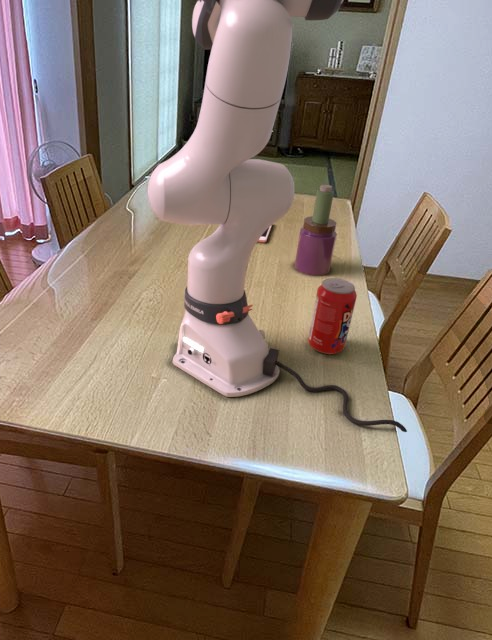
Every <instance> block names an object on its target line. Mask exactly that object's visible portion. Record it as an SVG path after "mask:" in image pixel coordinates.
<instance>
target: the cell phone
mask: <svg viewBox="0 0 492 640" xmlns="http://www.w3.org/2000/svg"><path fill="white" fill-rule="evenodd" d="M272 226H273V224H272V225H271V226H270V227H269V228H268V229H267V230H266V231H265V232H264V233H263V235H262V236H261V237H260V239H259V240H258V241H257V243H266V242H267V240H268V237H269V235H270V232H271V229H272Z"/></svg>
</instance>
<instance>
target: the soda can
mask: <svg viewBox="0 0 492 640" xmlns="http://www.w3.org/2000/svg"><path fill="white" fill-rule="evenodd" d="M357 296H358V295H357V292H356V286H355V284H354V283H352V282H351V281H349V280H346V279H344V278H338V277H329V278H326V279H323V280H322V283H321V285H319V286H318V287H317V290H316V295H315V301H314V305H313V311H312V317H311V322H310V327H309V333H308V338H307V343H308V344H309V347H311V348H312V349H313V350H315V351H317V352H319V353H322V354H326V355H334V354H339V353H341V352H342V351H344V350H345V347H346V344H347V340H348V335H349V330H350V326H351V323H352V318H353V314H354V310H355V306H356V301H357V298H358V297H357Z"/></svg>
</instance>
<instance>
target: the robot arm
mask: <svg viewBox="0 0 492 640" xmlns="http://www.w3.org/2000/svg"><path fill="white" fill-rule="evenodd" d="M343 2H344V0H196V2H195V5H194V8H193V11H192V16H191V17H192V18H191V27H192V34H193V37H194V38H193V39H194V40H195V41H196V43H197V44H198V45H199V46H200V47H201V48H202V49H203V50H205V51H206V50H207V51H208V50H210V55H209V58H208V64H207V69H206V73H205V74H206V75H205V81H204V88H203V95H202V101H201V106H200V111H199V116H198V119H197V123H196V127H195V128H194V131H193V133H192V134H191V136H190V137H189V139H188V140H187V141H186V143H185V144H184V145H183V146H182V148H181V149H180V150H178V151H177V152H176V153H175V154H173V155H172V156H171V157H170V158H168V159H167V160H165V161H163V162H161V163H159V164H158V165H157V166H156V167H155V168H154V170H153V171H152V173H151V175H150V177H149V180H148V183H147V190H146V191H147V200H148V204H149V206H150V209H151V211H152V212H153V214H154V215H155V216H156V217H157V218H158V219H159V220H160V221H161V222H166V223H170V224H177V225H182V226H207V225H208V226H210V225H211V226H212V225H213V226H214V225H219V226H218V227H217V228H216V230H215V231H214V232H213V233H211V234H210V235H208V236H206V237H205V238H203V239H201V240H200V241H198V242H197V243H196V244H195V245H194V246H192V247H193V248H192V249H191V250H190V252H189V255H188V258H187V281H186V282H187V284H186V287H185V289H184V295H183V301H184V302H183V303H184V305H183V306H184V309H185V312H184V314H183V318H182V321H181V324H180V326H179V333H178V340H177V341H178V342H177V347H176V352H175V354H174V356H173V358H172V365H173V366H175V367H176V368H178V369H180V370H181V371H183V372H185V373H186V374H188V375H190V377H193V378H195V379H196V380H198V381H199V382H200V383H202V384H204V385H205V386H207V387H209V388H211V389H213V390H214V391H215V392H217V393H219V394H220V395H222V396H224V397H227V398H234V397H235V398H237V397H244V396H247V395H250V394H253V393H256V392H258V391H261V390H263V389H265V388H267V387H268V386H270V385H271V384H273V383H274V382H275V381H276V380H277V379H278V378H279V376H280V369H282V370H283V371H286V372H287V373H289V374H290V375H292V376H293V377H294V378H295V379H296V380H297V382H298V383H299V385H300V386H301V387H302V388H303V389H304V390H306V391H309V392H312V393H319V392H324V391H328V390H335V391H337V392H339V393H341V395H342V397H343V400H342V413H343V415H344V417H345V419H347V420H348V421H350V422H351V423H353V424H355V425H358V426H366V427H367V426H368V427H369V426H371V427H372V426H380V425H381V426H382V425H391V426H394V427H396V428H397V429H399V430H400V431H401V432H403V433H407V432H408V430H407V428H406V427H405V426H404V425H403V424H402V423H400V422H399V421H396V420H394V419H376V420H362V419H361V420H360V419H357V418H354V417H352V415H351V414H350V413H349V411H348V404H349V403H348V402H349V397H348V396H349V395H348V393H347V391H345V389H343V388H342V387H340V386H339V385H335V384H328V385H323V386H318V387H313V386H312V387H311V386H309V385H308V384H306V382H305V381H304V379H303V378H302V377H301V376H300V375H299V373H297V372H296V371H295V370H293V369H292V368H291V367H289V366H287V365H285V364H283V362H280V361H278V360H279V354H280V349H279V348H278V349H277V348H273V347H270V348H269V345H268V343H267V341H266V335H265V332H264V330H262V329H259V328H258V327H257V325H256V323H255V322H254V320H253V319H252V318H251V316H250V313H249V312H251V311H252V310H253V308H252V307H253V306H254V304H249V305H248V297H247V293H246V291H245V285H246V279H247V278H246V277H247V271H248V267H249V266H248V265H249V261H250V257H251V255H252V252H253V250H254V248H255V246H256V245H257V243H258V242H257V241H258V240H259V239H260V237H261V236H262V235H263V233H264V232H265V231H266V230H267V229H268V228H269V227H270V226H271V225H272V226H273V224H275V223H276V222H278V221H279V220H280V219H282V218H284V217H285V216H286V214H287V213H288V212H289V211H290V209H291V207H292V205H293V203H294V198H295V188H296V187H295V182H294V179H293V176H292V174H291V172H290V171H289V169H288V167H287V166H286V165H284V164H283V163H279V162H275V161H270V160H265V159H262V158H261V159H260V158H254V157H256V156H257V155H258V154H260V153H261V152H262V151H263V150H264V149H265V147H266V146H267V145H268V143H269V141H270V139H271V136H272V133H273V130H274V126H275V121H276V118H277V115H278V111H279V107H280V105H281V101H282V97H283V93H284V89H285V85H286V81H287V77H288V72H289V65H290V59H291V52H292V51H291V50H292V41H293V22H292V18H304V20H305V21H326V20H329V19H330V18H331V17H332V16H334V15H335V14H336V13H337V12H338V11H339V8H340V7H341V5H342V4H343ZM291 17H292V18H291Z"/></svg>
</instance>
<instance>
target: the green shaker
mask: <svg viewBox="0 0 492 640" xmlns="http://www.w3.org/2000/svg"><path fill="white" fill-rule="evenodd" d="M334 193H335V191H334V190H333V186H332V185H330V184H320V186H319V188H317V189H316V194H315V200H314V206H313V212H312V216H313V217H312V221H313V222H314V223H317V224H327V223H328V221H329V218H330V215H331V210H332V204H333V200H334Z"/></svg>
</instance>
